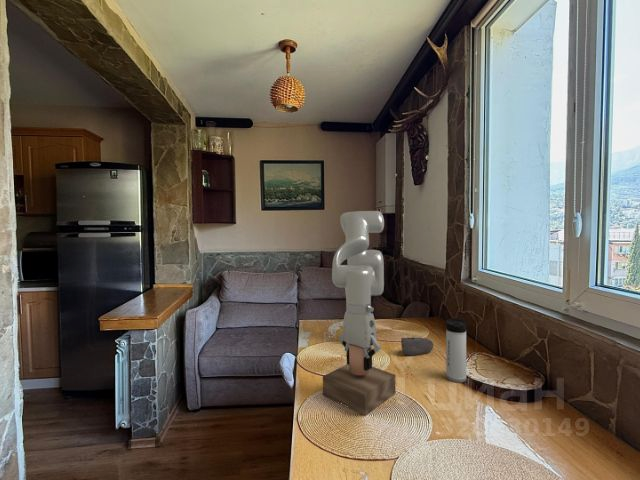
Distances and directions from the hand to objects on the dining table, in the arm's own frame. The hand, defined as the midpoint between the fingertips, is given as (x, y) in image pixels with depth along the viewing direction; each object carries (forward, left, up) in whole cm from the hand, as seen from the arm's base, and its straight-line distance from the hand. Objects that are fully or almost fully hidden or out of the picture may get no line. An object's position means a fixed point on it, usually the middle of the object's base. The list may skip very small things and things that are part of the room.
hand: (359, 365), depth 96 cm
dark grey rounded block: (-42, -2, -9) cm, 43 cm away
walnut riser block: (0, 0, -9) cm, 9 cm away
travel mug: (-31, +18, -9) cm, 37 cm away
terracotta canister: (0, 0, -2) cm, 2 cm away
